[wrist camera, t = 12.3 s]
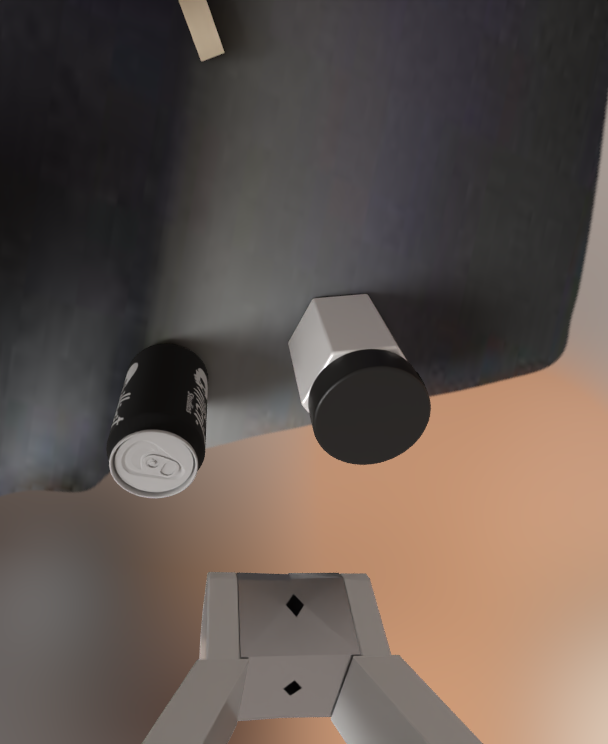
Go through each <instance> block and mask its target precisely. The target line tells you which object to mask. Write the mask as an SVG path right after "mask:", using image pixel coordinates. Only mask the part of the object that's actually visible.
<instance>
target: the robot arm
mask: <svg viewBox="0 0 608 744" xmlns="http://www.w3.org/2000/svg"><path fill="white" fill-rule="evenodd" d="M287 717H288V718H290V717H331V721H332V722H333V724H334V725H335V727H336V728H337V730H338V731H339V733H340V734H341V736H342V737H343V739H344V740H345V742H346V743H347V744H483V743H482V742H481V741H480V740H479V739H478V738H477V737H476V736H475V735H474V734H473V733H472V732H471V731H470V730H469V729H468V728H467V727H466V726H465V724H464V723H463V722H462V721H461V720H460V719H459V718H458V717H457V716H456V715H455V714H454V713H453V712H452V711H451V710H450V708H449V707H448V706H447V705H446V704H445V703H444V702H443V701H442V700H441V699H440V698H439V697H438V696H437V695H436V694H435V693H434V692H433V690H432V689H431V688H430V687H429V686H428V685H427V684H426V683H425V682H424V681H423V680H422V679H421V678H420V677H419V676H418V675H417V674H416V672H415V671H414V670H413V669H412V668H411V667H410V666H409V665H408V664H407V663H406V662H405V661H404V660H403V659H402V658H401V657H400V656H399V655H391V652H390V649H389V645H388V642H387V638H386V635H385V631H384V628H383V624H382V620H381V617H380V613H379V610H378V606H377V603H376V599H375V596H374V592H373V589H372V585H371V582H370V578H369V577H368V576H367V575H366V574H339V573H289V574H260V573H227V572H226V573H224V572H209V573H208V575H207V582H206V590H205V598H204V607H203V615H202V627H201V638H200V660H197V661H196V663H195V664H194V666H193V667H192V669H191V670H190V672H189V673H188V675H187V676H186V678H185V679H184V681H183V682H182V684H181V685H180V687H179V688H178V690H177V691H176V693H175V694H174V696H173V697H172V699H171V700H170V702H169V703H168V705H167V706H166V708H165V709H164V711H163V712H162V714H161V715H160V717H159V718H158V720H157V721H156V723H155V724H154V726H153V728H152V729H151V730H150V732H149V734H148V735H147V737H146V738H145V739H144V741H143V743H142V744H227V743H228V741H229V739H230V737H231V735H232V733H233V731H234V729H235V727H236V725H237V721H245V720H259V719H270V718H271V719H272V718H287Z"/></svg>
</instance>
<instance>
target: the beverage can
mask: <svg viewBox="0 0 608 744" xmlns="http://www.w3.org/2000/svg"><path fill="white" fill-rule="evenodd" d="M207 396H208V373H207V370H206V367H205V365H204V364H203V362H202V361H201V359H200V358H199V357H198V356H197V355H196V354H194V353H193V352H192V351H190V350H188V349H186V348H184V347H181V346H178V345H173V344H159V345H154V346H151V347H149V348H146V349H144V350H143V351H141V352H140V353H139V354H138V355H137V356H136V357H135V358H134V359H133V360H132V362H131V364H130V366H129V369H128V372H127V376H126V379H125V383H124V386H123V389H122V393H121V396H120V400H119V403H118V407H117V410H116V413H115V417H114V420H113V424H112V427H111V431H110V434H109V438H108V441H107V448H106V450H107V456H108V459H109V467H110V472H111V474H112V476H113V478H114V480H115V481H116V482H117V483H118V484H119V485H120V486H121V487H122V488H123V489H125V490H126V491H128V492H130V493H132V494H135V495H137V496H141V497H147V498H163V497H168V496H172V495H175V494H177V493H179V492H181V491H183V490H184V489H185V488H186V487H188V486H189V485H190V484H191V483H192V481H193V480H194V478H195V476H196V474H197V471H198V470H199V468H200V466H201V465H202V463H203V460H204V457H205V442H206V419H207Z"/></svg>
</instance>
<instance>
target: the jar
mask: <svg viewBox="0 0 608 744" xmlns="http://www.w3.org/2000/svg"><path fill="white" fill-rule="evenodd" d="M288 345H289V350H290V354H291V359H292V363H293V368H294V372H295V377H296V381H297V386H298V390H299V395H300V399H301V404H302V405H303V407H304V408H305V409H306V410H307V412H308V413H309V414H310V418H311V422H312V426H313V431H314V434H315V437H316V439H317V441H318V443H319V444H320V446H321V447H322V448H323V449H324V450H325V451H326V452H327V453H328V454H329V455H331V456H332V457H334V458H336V459H338V460H341V461H343V462H347V463H352V464H360V465H366V464H375V463H380V462H384V461H387V460H389V459H392V458H394V457H396V456H398V455H400V454H401V453H403V452H405V451H406V450H407V449H409V448H410V447H411V446H412V445H413V444H414V443H415V442H416V441H417V440H418V439H419V438H420V436H421V435H422V433H423V432H424V430H425V428H426V426H427V424H428V421H429V417H430V410H431V405H430V398H429V395H428V392H427V390H426V387H425V386H424V385H425V384H424V382H423V381H422V379H421V377H420V376H419V374H418V372H416V371H415V370H414V368H413V367H412V365H411V364H410V363H409V362H408V360H407V358H406V356H405V355H404V353H403V351H402V350H401V348H400V346H399V345H398V343H397V341H396V340H395V338H394V336H393V334H392V333H391V331H390V329H389V328H388V326H387V325H386V323H385V321H384V320H383V318H382V316H381V315H380V313H379V312H378V310H377V308H376V307H375V305H374V303H373V302H372V300H371V299H370V297H369V295H367V294H358V295H347V296H335V297H323V298H314V299H312V301H311V303H310V304H309V306H308V308H307V310H306V312H305V313H304V315H303V317H302V319H301V321H300V322H299V324H298V326H297V328H296V329H295V331H294V333H293V335H292V337H291V338H290V340H289V342H288Z"/></svg>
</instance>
